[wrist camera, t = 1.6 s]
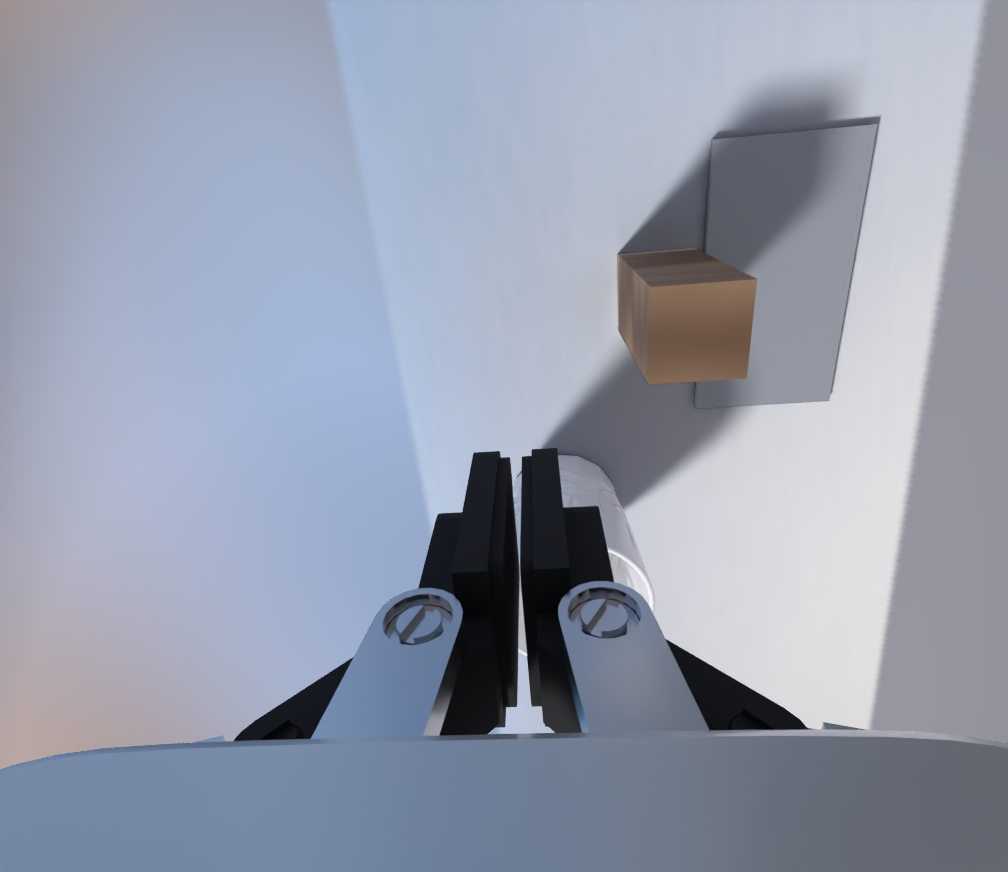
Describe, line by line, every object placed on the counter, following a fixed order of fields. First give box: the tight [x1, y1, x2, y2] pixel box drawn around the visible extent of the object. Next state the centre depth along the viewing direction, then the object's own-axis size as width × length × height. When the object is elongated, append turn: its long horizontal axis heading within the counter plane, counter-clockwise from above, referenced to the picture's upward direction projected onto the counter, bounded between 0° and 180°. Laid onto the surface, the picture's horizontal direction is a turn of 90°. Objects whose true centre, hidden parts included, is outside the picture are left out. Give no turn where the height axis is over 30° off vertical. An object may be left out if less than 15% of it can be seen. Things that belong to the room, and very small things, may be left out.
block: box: [617, 248, 757, 385], centre depth 27 cm, size 4×4×9 cm
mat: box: [694, 124, 878, 409], centre depth 30 cm, size 14×8×1 cm, turn 5°
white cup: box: [513, 455, 655, 656], centre depth 32 cm, size 8×8×10 cm
